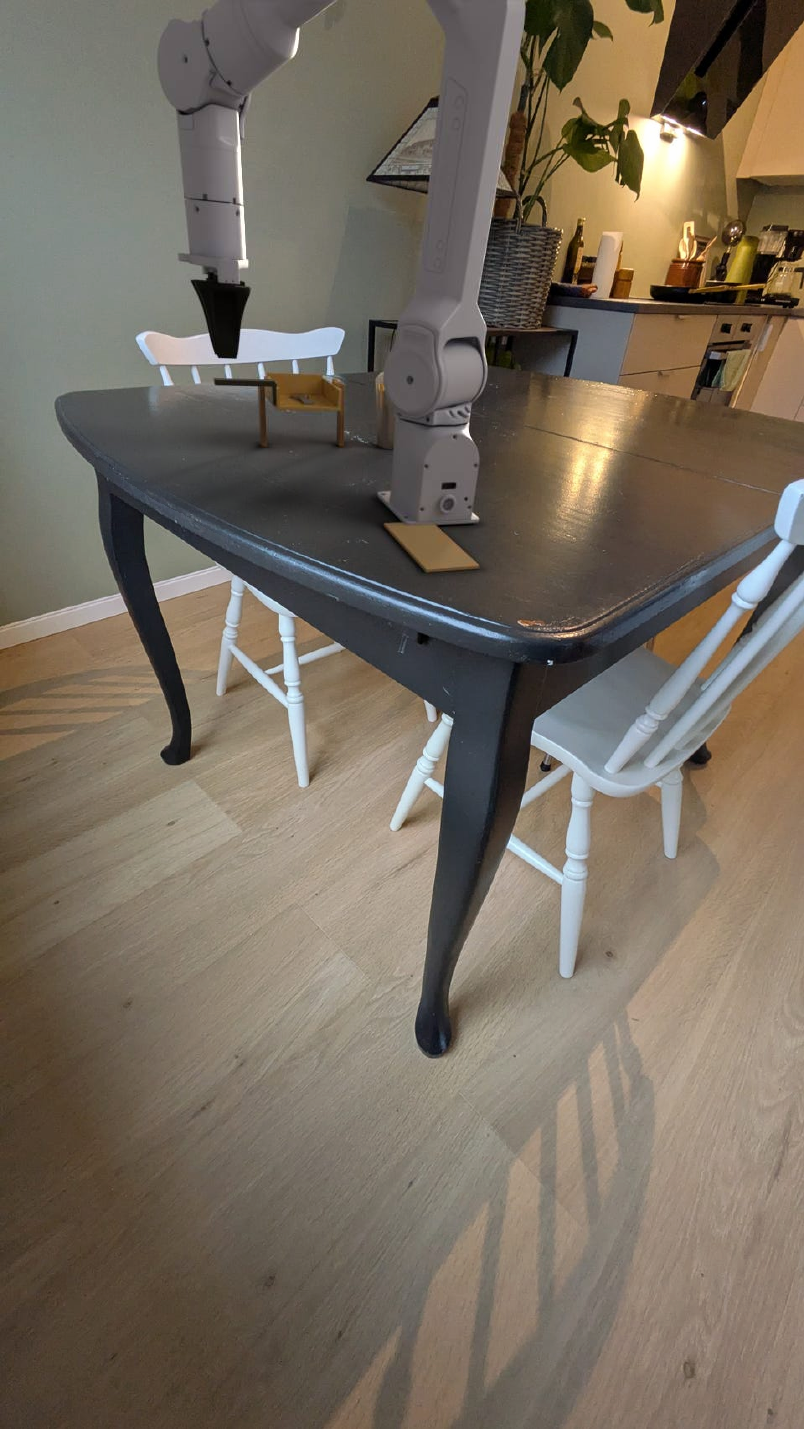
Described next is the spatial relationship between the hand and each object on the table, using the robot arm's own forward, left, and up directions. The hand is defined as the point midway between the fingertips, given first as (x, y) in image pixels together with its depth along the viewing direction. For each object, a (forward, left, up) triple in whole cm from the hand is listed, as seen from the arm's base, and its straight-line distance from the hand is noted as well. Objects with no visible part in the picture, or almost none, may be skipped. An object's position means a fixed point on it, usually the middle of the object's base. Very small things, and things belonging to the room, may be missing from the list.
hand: (225, 356), depth 72 cm
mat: (-32, -13, -10) cm, 36 cm away
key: (+3, -10, -5) cm, 11 cm away
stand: (+3, -10, -10) cm, 14 cm away
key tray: (+4, -6, -5) cm, 9 cm away
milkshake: (+3, -22, -11) cm, 24 cm away
